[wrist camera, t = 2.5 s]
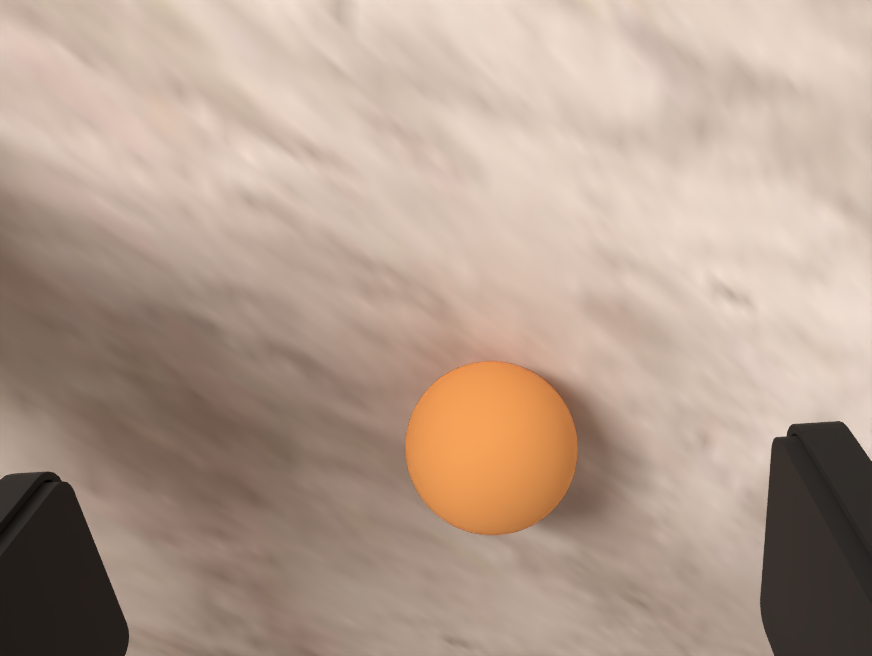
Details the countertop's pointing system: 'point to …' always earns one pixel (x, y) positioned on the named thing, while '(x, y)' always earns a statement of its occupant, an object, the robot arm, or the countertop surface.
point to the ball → (491, 448)
